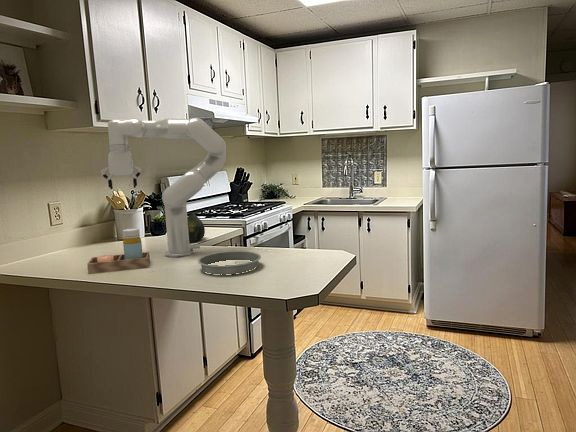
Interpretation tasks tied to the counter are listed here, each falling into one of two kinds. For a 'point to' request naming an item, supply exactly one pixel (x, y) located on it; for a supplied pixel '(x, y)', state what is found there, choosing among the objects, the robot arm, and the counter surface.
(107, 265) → the caddy
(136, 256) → the bottle
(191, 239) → the squash
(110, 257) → the pink small block
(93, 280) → the counter surface
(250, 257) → the cake pan
